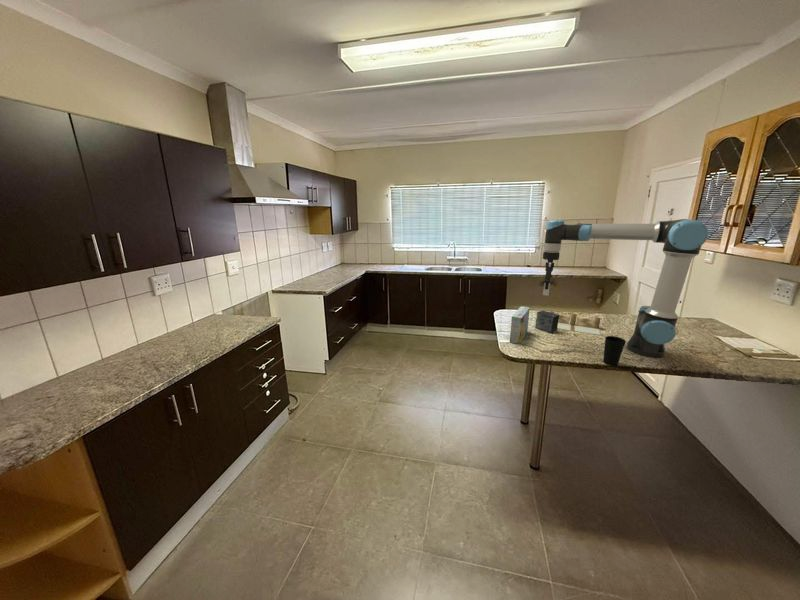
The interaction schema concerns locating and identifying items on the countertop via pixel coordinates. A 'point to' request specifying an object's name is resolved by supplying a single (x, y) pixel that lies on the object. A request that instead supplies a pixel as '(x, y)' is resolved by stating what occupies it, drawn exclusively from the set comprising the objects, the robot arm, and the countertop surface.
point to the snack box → (519, 324)
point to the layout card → (578, 328)
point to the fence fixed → (585, 321)
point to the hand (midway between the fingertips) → (546, 292)
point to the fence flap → (563, 318)
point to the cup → (613, 350)
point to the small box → (547, 321)
